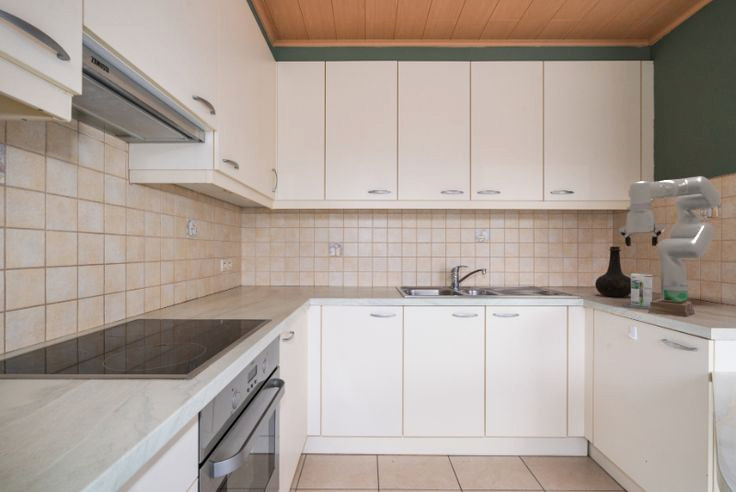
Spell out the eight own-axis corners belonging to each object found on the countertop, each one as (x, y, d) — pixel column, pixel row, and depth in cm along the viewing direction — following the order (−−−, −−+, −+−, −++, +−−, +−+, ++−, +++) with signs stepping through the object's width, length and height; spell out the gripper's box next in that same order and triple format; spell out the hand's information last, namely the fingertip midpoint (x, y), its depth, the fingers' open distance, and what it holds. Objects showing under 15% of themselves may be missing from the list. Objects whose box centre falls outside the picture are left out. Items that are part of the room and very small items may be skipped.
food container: (678, 309, 155) (677, 286, 155) (662, 307, 161) (662, 285, 161) (696, 307, 159) (696, 285, 159) (681, 305, 165) (680, 284, 165)
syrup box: (630, 304, 164) (629, 273, 164) (641, 304, 164) (641, 273, 165) (641, 306, 158) (640, 274, 158) (653, 306, 159) (652, 274, 159)
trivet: (631, 304, 169) (631, 302, 169) (660, 307, 160) (660, 305, 160) (622, 306, 163) (622, 304, 163) (652, 310, 154) (652, 308, 154)
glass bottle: (590, 296, 199) (589, 246, 199) (602, 293, 210) (602, 246, 210) (627, 299, 184) (627, 246, 185) (639, 296, 195) (638, 246, 195)
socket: (657, 309, 155) (657, 299, 155) (694, 313, 145) (694, 302, 145) (648, 312, 148) (648, 301, 148) (686, 316, 138) (686, 305, 138)
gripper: (615, 210, 167) (616, 246, 166) (661, 206, 153) (662, 245, 152) (621, 210, 171) (622, 246, 171) (667, 207, 157) (667, 245, 157)
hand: (641, 245), depth 162 cm, fingers open, 9 cm apart
